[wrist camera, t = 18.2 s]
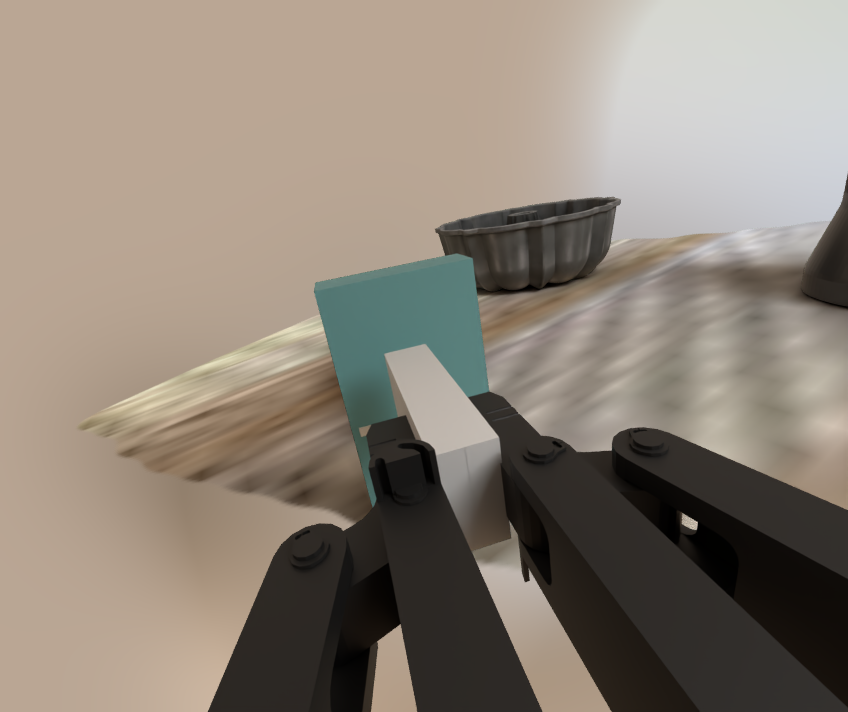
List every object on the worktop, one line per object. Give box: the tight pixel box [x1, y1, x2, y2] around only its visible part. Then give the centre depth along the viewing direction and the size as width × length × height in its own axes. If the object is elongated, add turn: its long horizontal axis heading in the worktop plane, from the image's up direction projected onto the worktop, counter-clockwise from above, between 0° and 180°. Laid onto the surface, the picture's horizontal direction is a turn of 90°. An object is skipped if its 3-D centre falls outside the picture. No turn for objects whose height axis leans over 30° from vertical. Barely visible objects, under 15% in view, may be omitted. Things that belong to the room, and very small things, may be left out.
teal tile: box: [314, 254, 489, 507], centre depth 18 cm, size 6×2×12 cm, turn 103°
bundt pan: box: [435, 197, 621, 292], centre depth 63 cm, size 26×26×10 cm
